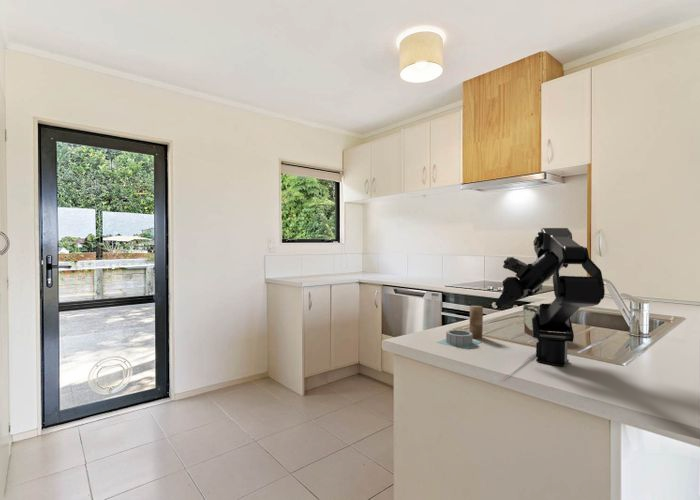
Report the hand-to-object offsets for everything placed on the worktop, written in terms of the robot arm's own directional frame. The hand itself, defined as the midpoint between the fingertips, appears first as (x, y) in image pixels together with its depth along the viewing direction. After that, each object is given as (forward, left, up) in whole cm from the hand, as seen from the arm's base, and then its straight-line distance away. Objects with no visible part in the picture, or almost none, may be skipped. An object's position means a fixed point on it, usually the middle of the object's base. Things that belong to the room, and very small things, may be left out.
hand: (502, 303), depth 108 cm
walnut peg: (+9, -4, -14) cm, 17 cm away
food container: (-4, -24, -14) cm, 28 cm away
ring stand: (+11, +6, -14) cm, 18 cm away
